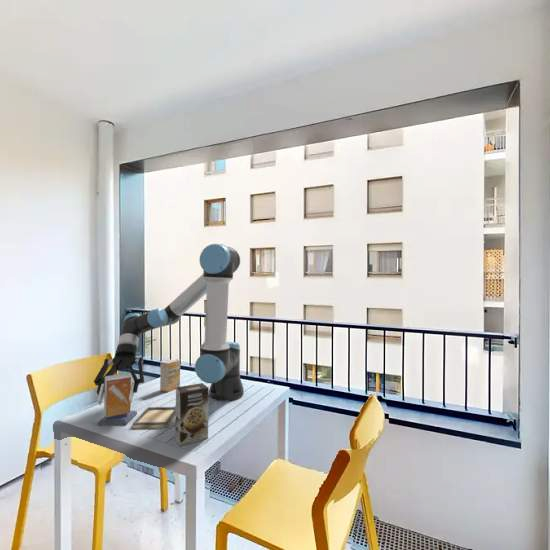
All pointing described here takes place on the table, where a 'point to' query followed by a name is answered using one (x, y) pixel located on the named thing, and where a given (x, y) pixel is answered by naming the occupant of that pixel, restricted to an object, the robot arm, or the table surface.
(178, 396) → the coffee box
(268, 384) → the table surface
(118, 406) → the small box
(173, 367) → the supplement box
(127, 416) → the ink pad
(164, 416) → the board
